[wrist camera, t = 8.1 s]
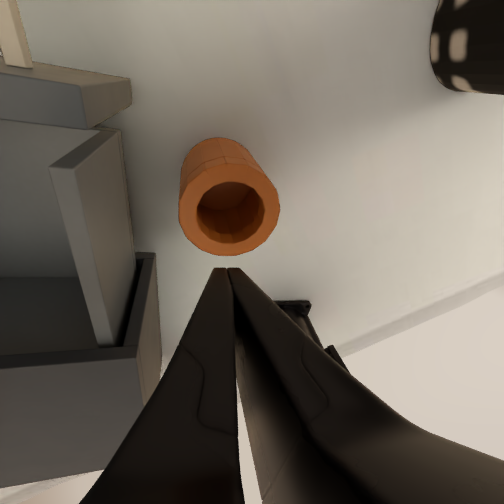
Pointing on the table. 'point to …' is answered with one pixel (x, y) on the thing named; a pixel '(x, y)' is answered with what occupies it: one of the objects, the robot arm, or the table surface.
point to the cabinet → (79, 396)
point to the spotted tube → (469, 45)
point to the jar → (225, 199)
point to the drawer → (61, 203)
